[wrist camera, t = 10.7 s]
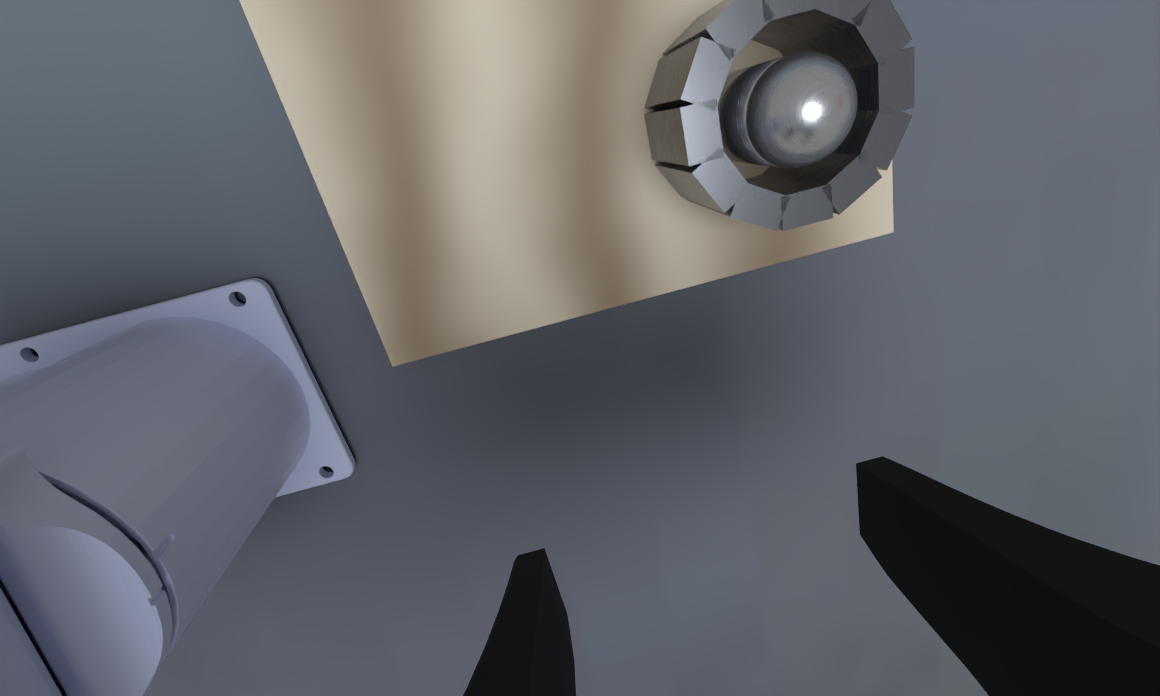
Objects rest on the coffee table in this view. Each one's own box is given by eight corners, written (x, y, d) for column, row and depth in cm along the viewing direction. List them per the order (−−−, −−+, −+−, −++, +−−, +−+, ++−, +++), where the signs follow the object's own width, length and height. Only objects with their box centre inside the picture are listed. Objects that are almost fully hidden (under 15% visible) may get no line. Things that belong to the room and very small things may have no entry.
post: (702, 170, 17) (775, 184, 12) (689, 83, 16) (762, 60, 11) (780, 149, 17) (883, 154, 12) (772, 60, 16) (880, 29, 12)
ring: (664, 228, 18) (702, 252, 14) (629, 33, 16) (663, 1, 12) (832, 184, 18) (914, 196, 14) (821, -17, 16) (914, -63, 12)
